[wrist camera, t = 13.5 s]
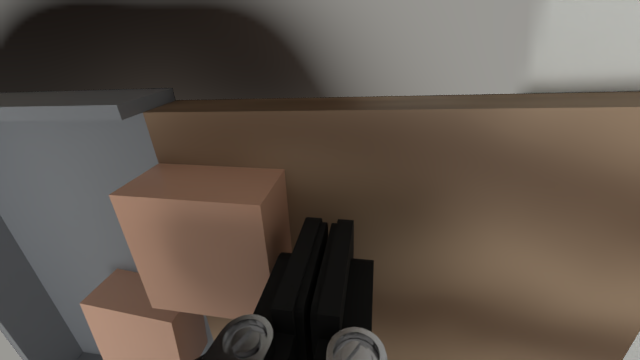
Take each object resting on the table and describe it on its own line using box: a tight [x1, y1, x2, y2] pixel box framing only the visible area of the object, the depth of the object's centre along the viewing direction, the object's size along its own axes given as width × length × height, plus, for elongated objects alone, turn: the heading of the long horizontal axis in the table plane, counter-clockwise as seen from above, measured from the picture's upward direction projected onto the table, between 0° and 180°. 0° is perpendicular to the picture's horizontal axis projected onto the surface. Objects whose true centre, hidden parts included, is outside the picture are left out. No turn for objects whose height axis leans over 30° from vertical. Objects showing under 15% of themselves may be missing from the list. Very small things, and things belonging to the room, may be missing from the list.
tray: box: [0, 88, 214, 360], centre depth 17 cm, size 19×13×3 cm
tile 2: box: [79, 269, 208, 360], centre depth 17 cm, size 5×5×2 cm
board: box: [143, 91, 640, 360], centre depth 14 cm, size 18×18×2 cm
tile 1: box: [109, 163, 292, 319], centre depth 11 cm, size 5×5×2 cm
